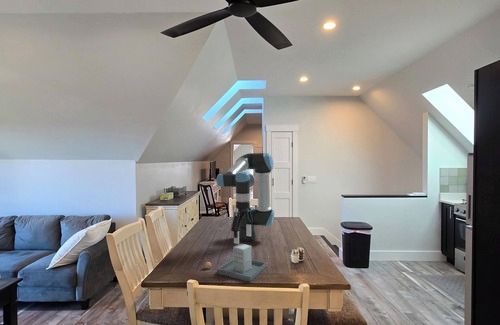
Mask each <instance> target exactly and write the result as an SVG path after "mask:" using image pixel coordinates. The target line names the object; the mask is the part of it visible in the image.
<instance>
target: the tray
mask: <svg viewBox="0 0 500 325" xmlns="http://www.w3.org/2000/svg"><path fill="white" fill-rule="evenodd" d="M267 268H268V262H266V261H261V260H255V259H252V268H251V269H250V270H248V271H246V272H245V273H242V272H239V271H236V270H233V258H231V259H230V260H229V261H226V262H225V263H224V264H222V265H221V266H219V267H217V268H216V274H217V275H222V276H225V277H228V276H229V278H232V279H237V280H240V281H241V280H242V281H245V282H247V283H251V282H252V281H253V280H254V279H256V277H258V276H259V275H260V274H261V273H262V272H263V271H264V270H265V269H267Z"/></svg>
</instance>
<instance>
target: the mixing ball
mask: <svg viewBox="0 0 500 325" xmlns="http://www.w3.org/2000/svg"><path fill="white" fill-rule="evenodd" d="M204 267H205V269H207V270H208V269H211V267H212V263H211V262H210V261H206V262H205V263H204Z"/></svg>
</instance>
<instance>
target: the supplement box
mask: <svg viewBox="0 0 500 325" xmlns="http://www.w3.org/2000/svg"><path fill="white" fill-rule="evenodd" d="M232 251H233V252H232V253H233V254H232V255H233V256H232V259H233V270H236V271H239V272H242V273H245V272H246V271H248V270H250V269H251V268H252V260H253V259H252V245H249V244H245V243H239V244H236V245H234V246H233V248H232Z"/></svg>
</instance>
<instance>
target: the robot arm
mask: <svg viewBox="0 0 500 325" xmlns="http://www.w3.org/2000/svg"><path fill="white" fill-rule="evenodd" d="M273 159H274V158H273V156H272V154H271V153H268V152H254V153H253V152H250V153H249V152H248V153H246V154H243V155H241V156H239V157H238V158H237V159H236V160H235V163H234V164H233V165H232V166H231V167H230V168H229V169H228V170H227V171H226V172H224V173H219V174H217V176H216V181H215V182H216V185H217V186H218V187H223V188H235V200H236V201H235V208H236V209H237V211H234V212H233V214H234V215H233V221H232V225H231V228H230V231H231V232H233V243H234V244H235V245H239V244H240V242H253V241H256V240H257V233H256V229H255V226H259V227H261V226H262V227H271V226H273V224H274V223H273V222H274V220H275V219H274V218H275V210H273V207H272V206H271V202H270V201H271V200H270V198H271V197H270V173H271V172H272V170H273V169H274V160H273ZM247 170H254V173H255V174H256V177H257V178H256V177H255V175H254V174H251V173H250V172H248V171H247ZM256 180H257V206H256V208H255V207H254V206H251V204H250V196H251V194H250V190H251V189H250V188H252V187H254V185H255V184H256Z"/></svg>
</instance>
